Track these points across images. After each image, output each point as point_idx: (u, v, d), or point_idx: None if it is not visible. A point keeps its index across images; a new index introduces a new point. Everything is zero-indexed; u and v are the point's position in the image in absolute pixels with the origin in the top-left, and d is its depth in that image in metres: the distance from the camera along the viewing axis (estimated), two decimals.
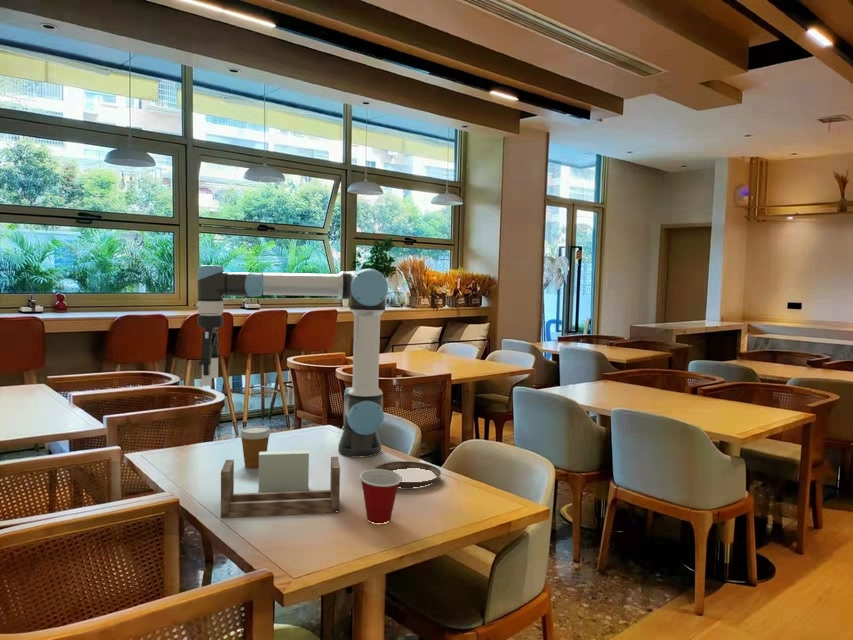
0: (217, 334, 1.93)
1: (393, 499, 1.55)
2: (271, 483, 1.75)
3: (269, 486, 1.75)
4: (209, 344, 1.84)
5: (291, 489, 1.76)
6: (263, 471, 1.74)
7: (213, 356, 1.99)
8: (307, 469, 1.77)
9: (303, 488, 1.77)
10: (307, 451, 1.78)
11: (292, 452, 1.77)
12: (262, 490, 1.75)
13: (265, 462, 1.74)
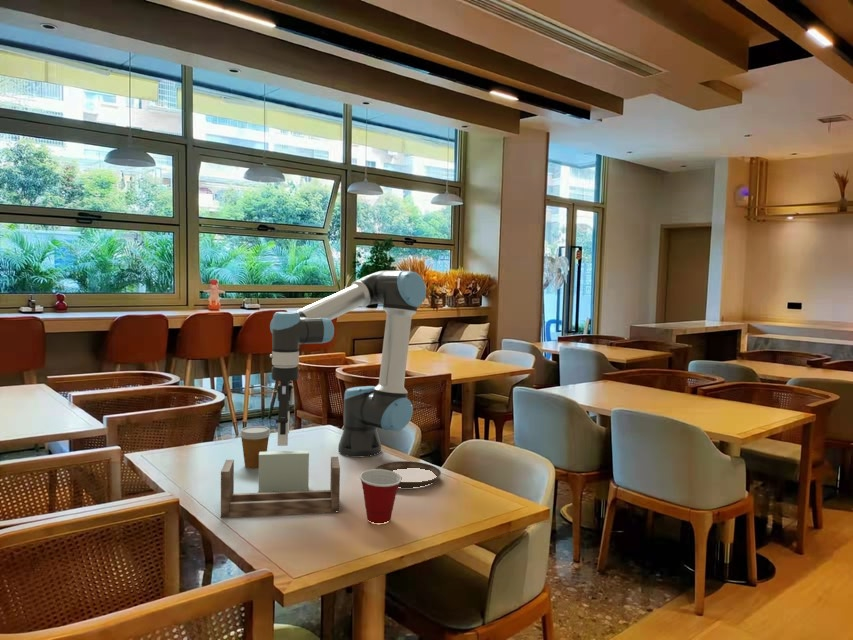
0: (291, 387, 1.77)
1: (393, 499, 1.55)
2: (271, 483, 1.75)
3: (269, 486, 1.75)
4: (287, 400, 1.68)
5: (291, 489, 1.76)
6: (263, 471, 1.74)
7: None
8: (307, 469, 1.77)
9: (303, 488, 1.77)
10: (307, 451, 1.78)
11: (292, 452, 1.77)
12: (262, 490, 1.75)
13: (265, 462, 1.74)
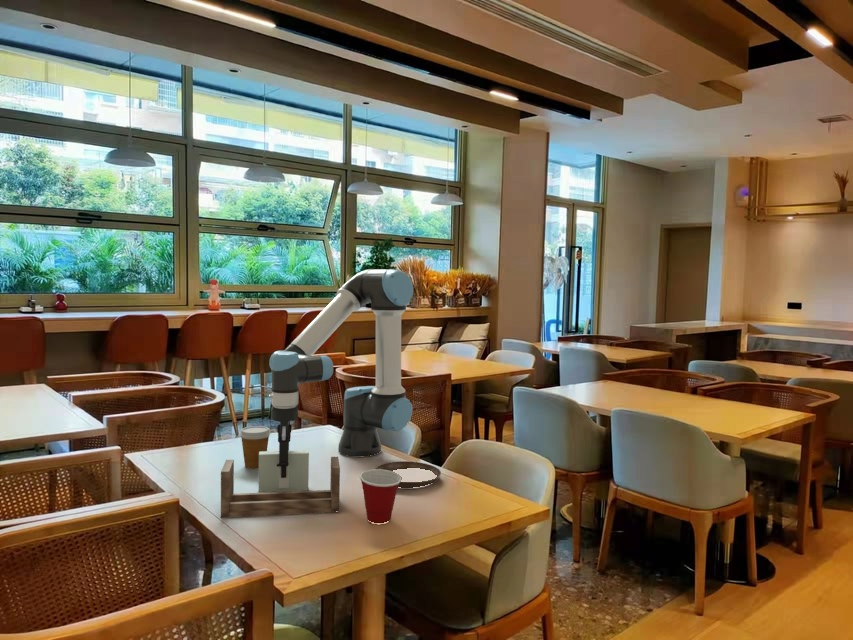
0: (291, 426, 1.78)
1: (393, 499, 1.55)
2: (271, 482, 1.75)
3: (269, 486, 1.75)
4: (287, 447, 1.71)
5: (291, 489, 1.76)
6: (263, 471, 1.74)
7: None
8: (307, 468, 1.77)
9: (303, 488, 1.77)
10: (307, 451, 1.78)
11: (292, 451, 1.77)
12: (262, 490, 1.75)
13: (265, 462, 1.74)
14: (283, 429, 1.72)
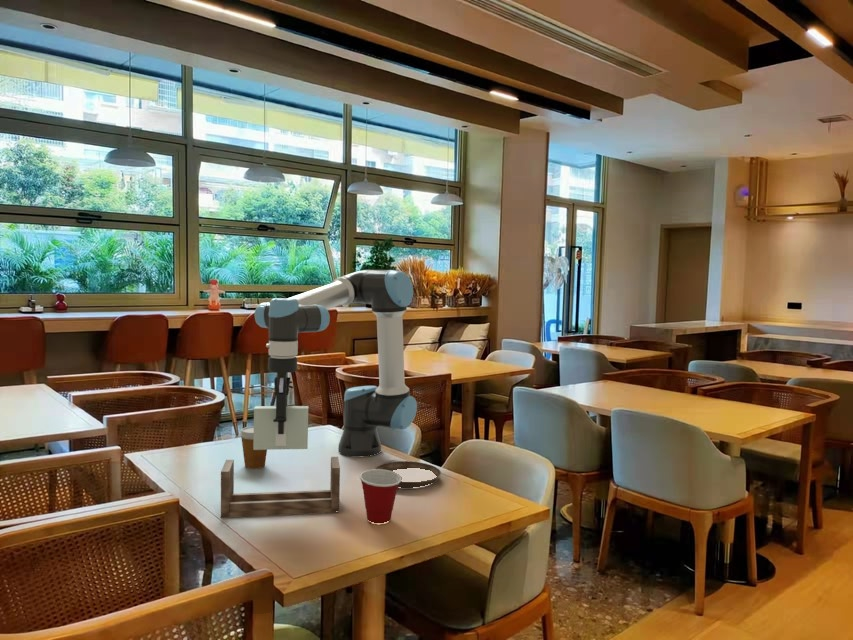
0: None
1: (393, 499, 1.55)
2: (267, 439, 1.61)
3: (265, 443, 1.61)
4: (284, 399, 1.57)
5: (289, 447, 1.62)
6: (258, 427, 1.61)
7: None
8: (306, 425, 1.63)
9: (302, 446, 1.63)
10: (307, 406, 1.65)
11: (291, 407, 1.64)
12: (257, 447, 1.61)
13: (261, 417, 1.61)
14: (281, 381, 1.58)
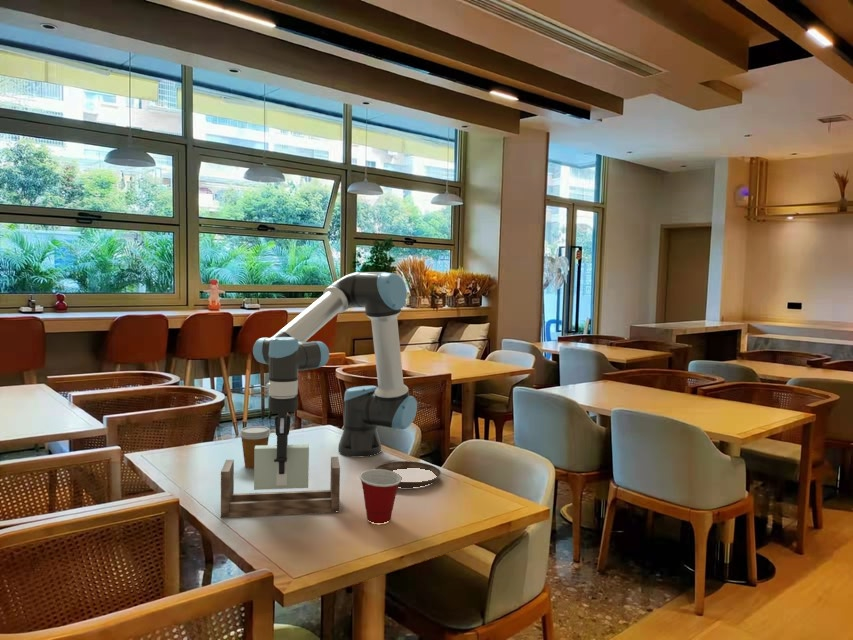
0: None
1: (393, 499, 1.55)
2: (267, 479, 1.61)
3: (266, 483, 1.61)
4: (285, 440, 1.57)
5: (289, 486, 1.62)
6: (259, 467, 1.60)
7: None
8: (307, 464, 1.62)
9: (302, 485, 1.63)
10: (307, 445, 1.64)
11: (291, 446, 1.63)
12: (258, 487, 1.60)
13: (261, 456, 1.60)
14: (281, 421, 1.58)
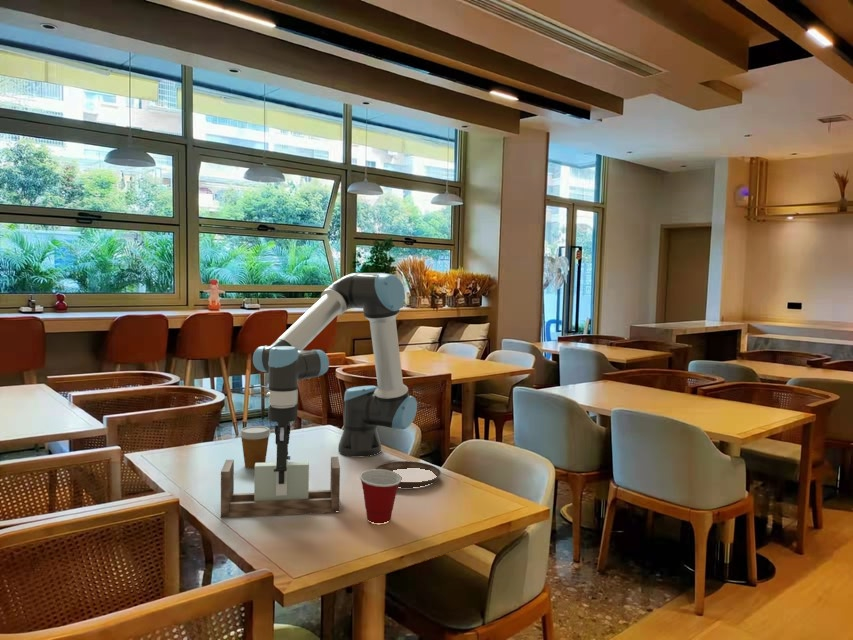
0: None
1: (393, 499, 1.55)
2: (267, 497, 1.61)
3: (266, 500, 1.61)
4: (285, 448, 1.56)
5: None
6: (259, 484, 1.61)
7: None
8: (307, 481, 1.63)
9: None
10: (307, 462, 1.65)
11: (291, 463, 1.63)
12: None
13: (261, 474, 1.60)
14: (281, 429, 1.58)
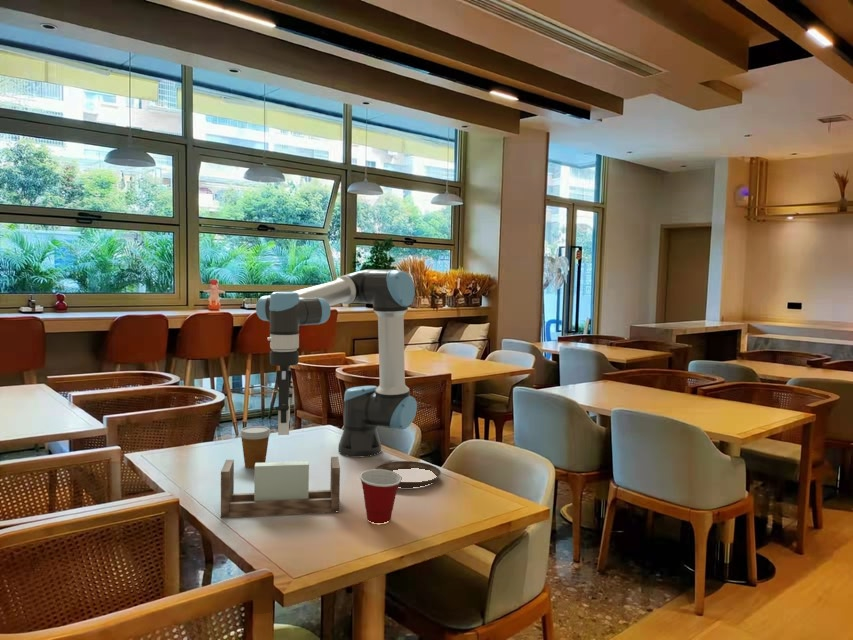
0: (291, 372, 1.65)
1: (393, 499, 1.55)
2: (267, 497, 1.61)
3: (266, 500, 1.61)
4: (287, 386, 1.56)
5: None
6: (259, 484, 1.61)
7: None
8: (307, 481, 1.63)
9: None
10: (307, 462, 1.65)
11: (291, 463, 1.64)
12: None
13: (261, 474, 1.61)
14: None
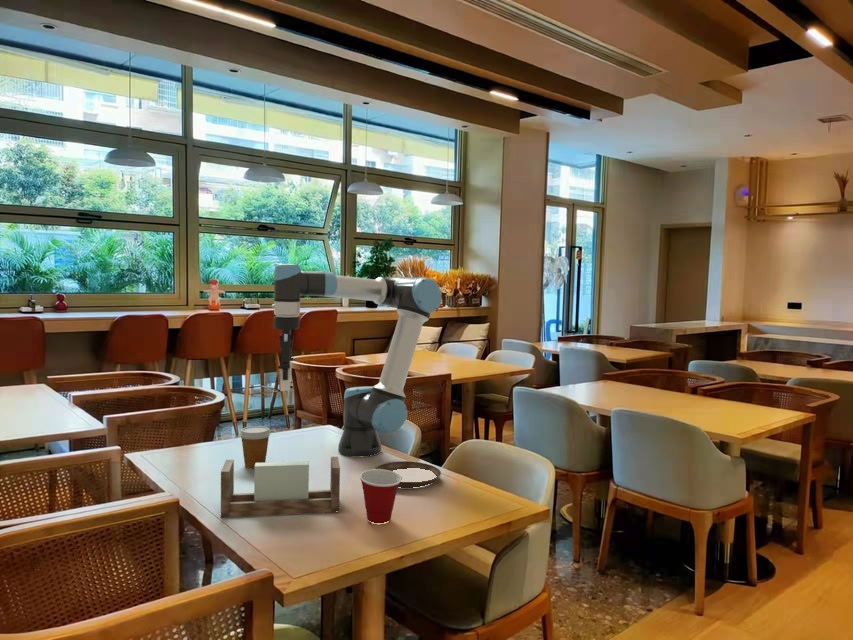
0: None
1: (393, 499, 1.55)
2: (267, 497, 1.61)
3: (266, 500, 1.61)
4: (288, 347, 1.75)
5: None
6: (259, 484, 1.61)
7: None
8: (307, 481, 1.63)
9: None
10: (307, 462, 1.65)
11: (291, 463, 1.64)
12: None
13: (261, 474, 1.61)
14: None
